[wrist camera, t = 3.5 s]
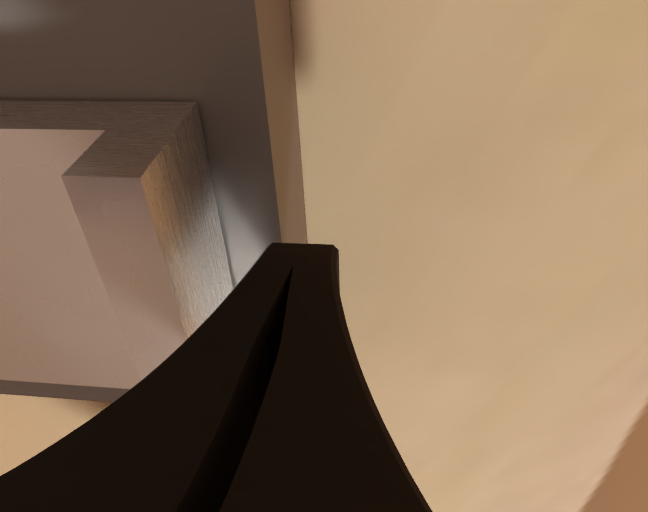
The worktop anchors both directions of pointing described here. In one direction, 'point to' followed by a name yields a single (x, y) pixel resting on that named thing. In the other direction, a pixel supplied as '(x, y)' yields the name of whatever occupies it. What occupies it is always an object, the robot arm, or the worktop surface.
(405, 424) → the worktop surface
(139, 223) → the plate
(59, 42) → the socket board
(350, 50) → the worktop surface
